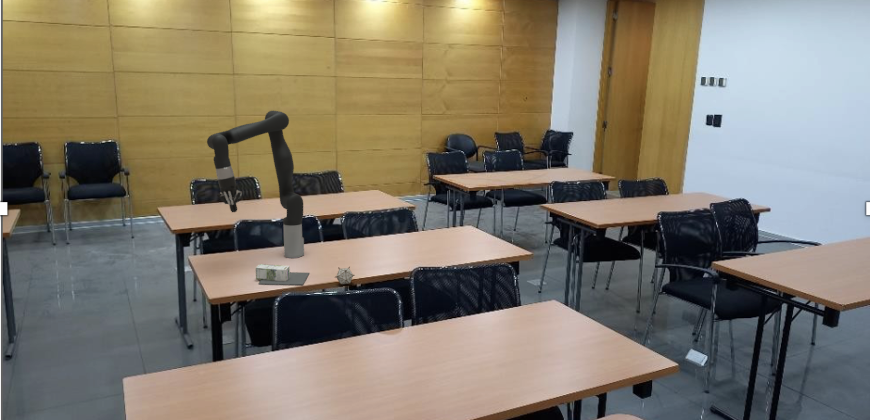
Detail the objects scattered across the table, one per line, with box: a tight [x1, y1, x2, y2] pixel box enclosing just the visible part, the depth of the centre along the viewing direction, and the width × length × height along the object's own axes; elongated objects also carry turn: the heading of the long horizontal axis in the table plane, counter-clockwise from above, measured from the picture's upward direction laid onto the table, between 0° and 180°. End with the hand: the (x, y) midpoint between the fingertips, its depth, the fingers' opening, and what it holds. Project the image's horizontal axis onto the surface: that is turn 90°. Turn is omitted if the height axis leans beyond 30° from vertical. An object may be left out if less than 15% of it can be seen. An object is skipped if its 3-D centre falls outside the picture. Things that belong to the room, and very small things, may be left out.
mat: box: [258, 271, 310, 287], centre depth 289 cm, size 20×16×1 cm
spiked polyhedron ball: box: [334, 266, 355, 287], centre depth 284 cm, size 9×8×10 cm
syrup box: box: [255, 263, 291, 281], centre depth 287 cm, size 6×6×14 cm
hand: (234, 211), depth 295 cm, fingers closed
